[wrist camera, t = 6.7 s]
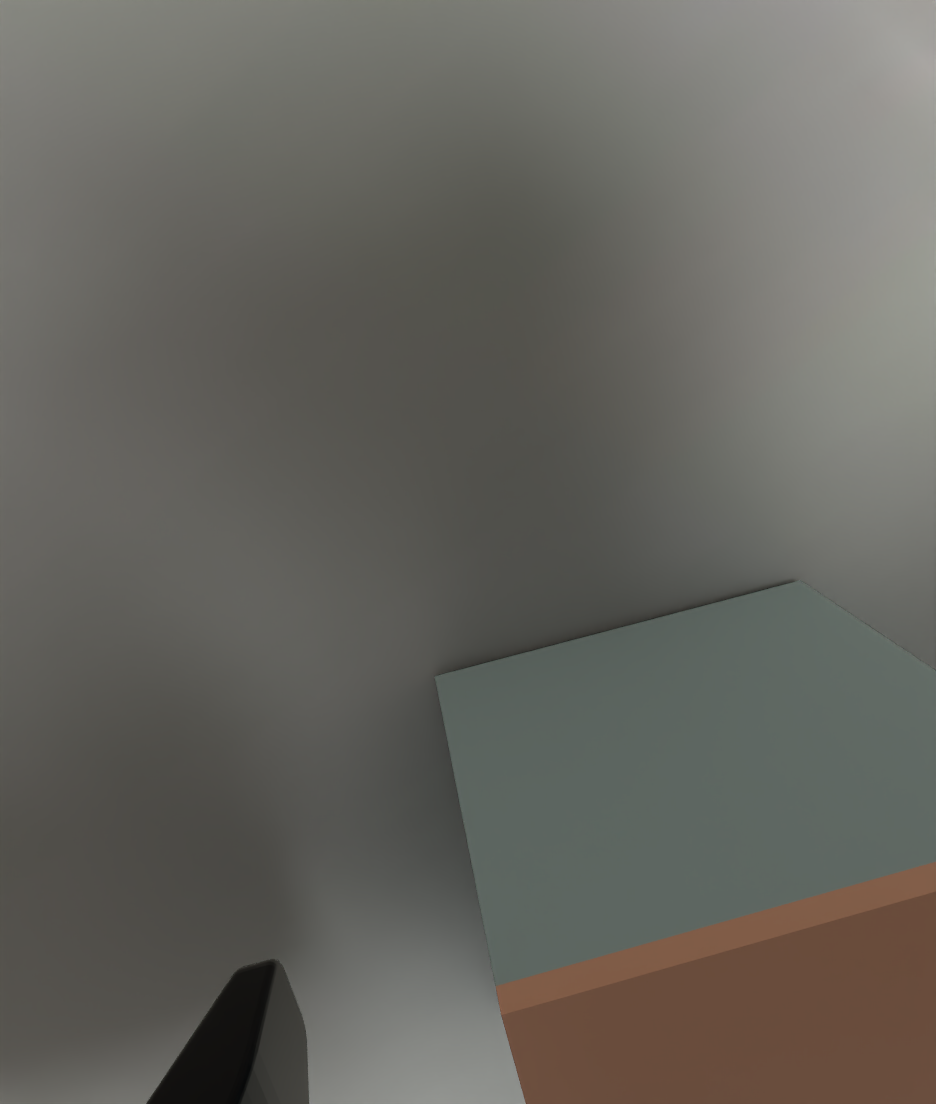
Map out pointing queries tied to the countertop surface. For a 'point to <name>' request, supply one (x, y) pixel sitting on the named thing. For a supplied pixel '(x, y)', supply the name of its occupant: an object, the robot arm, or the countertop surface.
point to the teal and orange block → (708, 856)
